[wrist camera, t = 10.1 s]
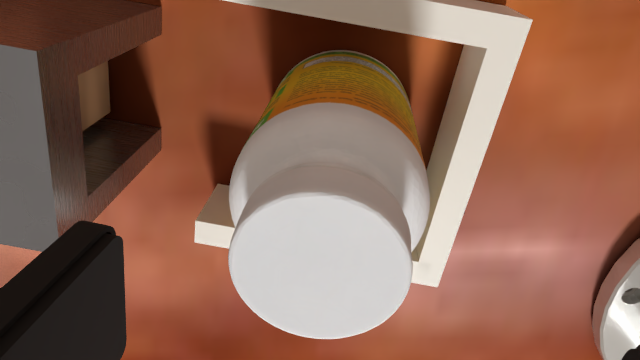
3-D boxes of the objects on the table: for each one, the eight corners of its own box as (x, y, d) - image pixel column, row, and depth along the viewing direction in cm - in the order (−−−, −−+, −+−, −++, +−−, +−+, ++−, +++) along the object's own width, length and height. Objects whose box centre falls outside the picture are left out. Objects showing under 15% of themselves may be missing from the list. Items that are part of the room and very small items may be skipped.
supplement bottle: (275, 39, 18) (188, 141, 9) (422, 55, 17) (475, 174, 9) (270, 170, 20) (197, 347, 11) (398, 185, 20) (421, 377, 11)
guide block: (161, 6, 17) (36, 51, 11) (160, 150, 20) (60, 255, 14) (53, -13, 17) (-136, 19, 11) (67, 132, 20) (-78, 229, 14)
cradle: (505, 5, 16) (532, 20, 14) (428, 242, 21) (437, 287, 18) (232, -44, 16) (206, -40, 14) (216, 203, 21) (194, 242, 18)
